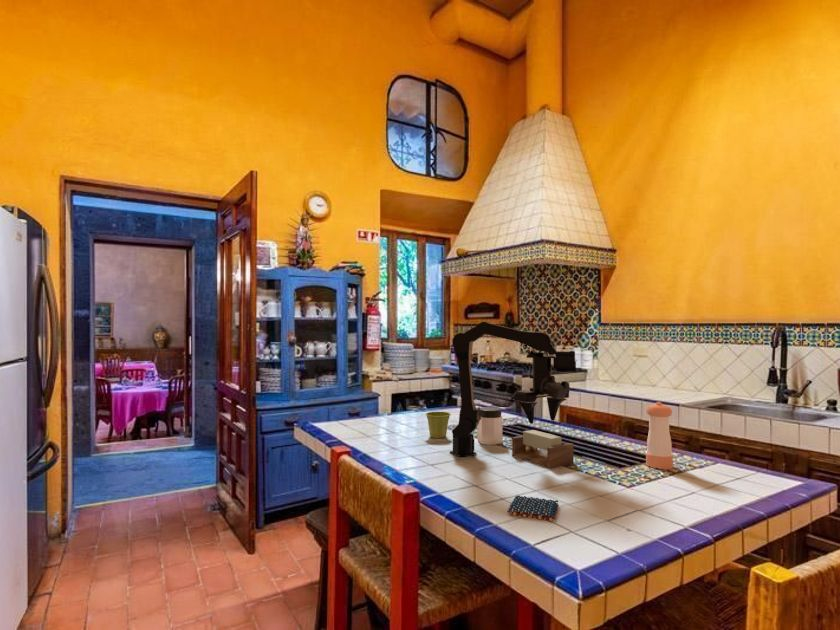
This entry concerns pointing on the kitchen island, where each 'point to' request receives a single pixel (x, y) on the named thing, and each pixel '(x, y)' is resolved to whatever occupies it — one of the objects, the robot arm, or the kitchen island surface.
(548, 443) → the beige rectangular block
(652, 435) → the pepper shaker
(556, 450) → the shelf frame
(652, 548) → the kitchen island surface
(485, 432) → the jar
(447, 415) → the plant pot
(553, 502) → the woven mat
